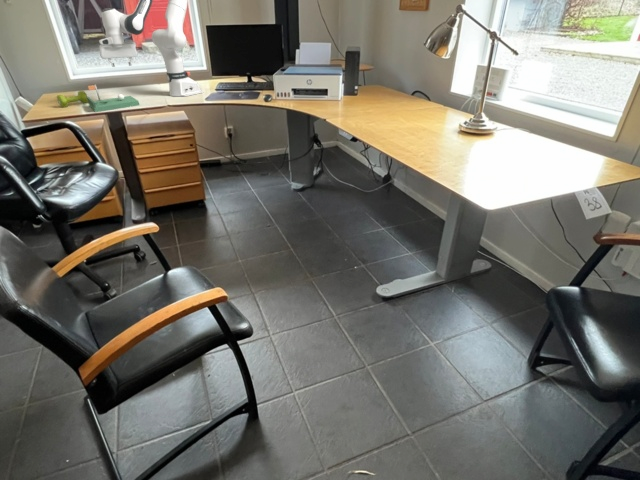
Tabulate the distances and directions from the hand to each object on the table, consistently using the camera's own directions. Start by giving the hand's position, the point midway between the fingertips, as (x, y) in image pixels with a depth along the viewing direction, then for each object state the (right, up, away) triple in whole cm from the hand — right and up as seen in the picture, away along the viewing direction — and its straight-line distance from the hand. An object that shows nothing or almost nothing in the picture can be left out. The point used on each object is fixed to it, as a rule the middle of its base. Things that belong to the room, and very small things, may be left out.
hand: (122, 66), depth 232 cm
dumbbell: (-35, -20, +10) cm, 42 cm away
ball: (-4, -17, +6) cm, 18 cm away
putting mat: (-8, -22, +6) cm, 24 cm away
